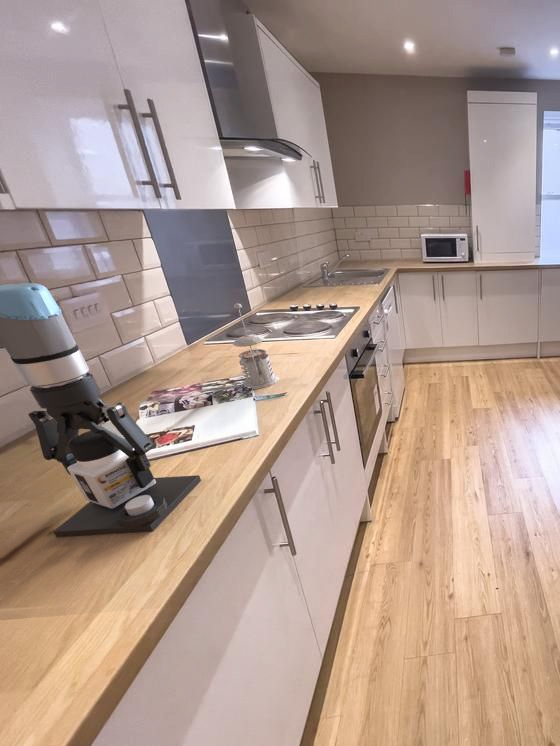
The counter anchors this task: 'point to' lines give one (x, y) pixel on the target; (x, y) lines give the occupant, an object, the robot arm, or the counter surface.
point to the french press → (254, 361)
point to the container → (102, 471)
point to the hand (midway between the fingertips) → (118, 485)
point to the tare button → (139, 505)
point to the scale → (118, 520)
